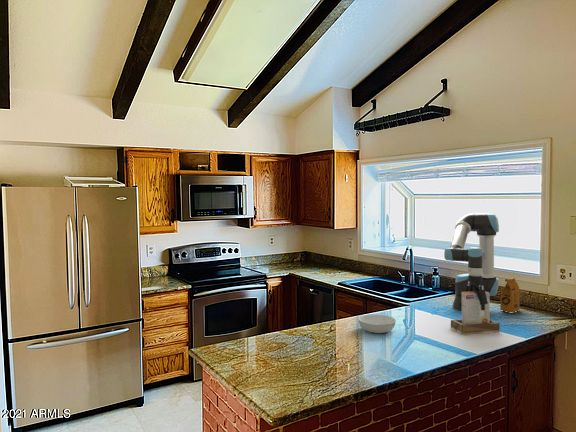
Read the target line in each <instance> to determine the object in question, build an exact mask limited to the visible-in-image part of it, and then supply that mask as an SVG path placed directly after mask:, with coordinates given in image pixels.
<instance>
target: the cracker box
mask: <svg viewBox="0 0 576 432" xmlns="http://www.w3.org/2000/svg"><path fill="white" fill-rule="evenodd" d="M485 293H486V297H487V302H488V304H485V310H484V316H479V304H480V301H479V299H478V296H477V294H476V293H475V292H474V291H467V292H462V310H461V319H462V324H464V325H468V324H482V323H490V320H491V319H490V317H491V316H490V313H491V312H490V310H491V309H490V303H491V302H490V297H491V295H490V293H489V292H486V291H485Z"/></svg>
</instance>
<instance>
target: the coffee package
mask: <svg viewBox="0 0 576 432" xmlns="http://www.w3.org/2000/svg"><path fill="white" fill-rule="evenodd" d="M504 281H505V282H506V283H505V285H504V287H503V289H502V290H501V292H500V305H499V306H500V309H499V310H500V311H501V310H503V311H507V312H514V313H516V312H515V311H518V310H519V311H520V305H521V304H520V300H521V299H520V297H521V296H520V295H521V294H520V293H521V292H520V286H519V284H518V283H517V280H516V279H515V277H514V276H513V277H511V278H506V279H505V280H504ZM519 311H518V312H519Z"/></svg>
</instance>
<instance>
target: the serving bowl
mask: <svg viewBox="0 0 576 432" xmlns="http://www.w3.org/2000/svg"><path fill="white" fill-rule="evenodd" d="M357 321H358V324H359V326H360V327H361V329H363V330H365V332H369V333H372V332H373V333H374V334H383V333H388V332H390V331H392V330H393V329H394V327H395V326H396V322H397V320H396V319H395V318H394V317H392V316H389V315H385V314H375V313H374V314H370V313H369V314H363V315H360V316H359V317H358V318H357Z"/></svg>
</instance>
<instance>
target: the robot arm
mask: <svg viewBox="0 0 576 432" xmlns="http://www.w3.org/2000/svg"><path fill="white" fill-rule="evenodd" d="M499 227H500V226H499V219H498V215H496V214H495V213H468V214H466V215H464V216H462V217H461V218H459V219H458V220H457V222H456V224H455V226H454V229H455V232H454V235H453V238H452V242H451V244H450V247H446V248H444V252H443V253H444V259H445V260H446V261H450V262H464V263H465V262H467V273H462V274H457V275H456V276H455V281H454V282H455V283H454V284H455V297H454V299H453V303H452V309H454V310H457V309H458V310H457V311H462V292H467V291H474V292H475V293H476V294H477V296H478V299H479V301H480V304H479V316H484V310H485V304H488V302H487V297H486V293H485V291H486V292H489V293H490V296H492V297H493V296H496V295H497V293H498V289H499V284H500V279H499V278H498V277H497V274H496V273H495V253H494V252H495V250H494V249H495V248H494V247H495V244H494V242H495V236H497V233H499V231H500V228H499ZM471 232H476V235H477V237H479V241H478V242H479V245H478V246H479V247H478V246H477V247H474V246H473V247H472V246H471V247H469V248H465V245H466V242H467V238H468V235H469V234H470V233H471Z"/></svg>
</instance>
